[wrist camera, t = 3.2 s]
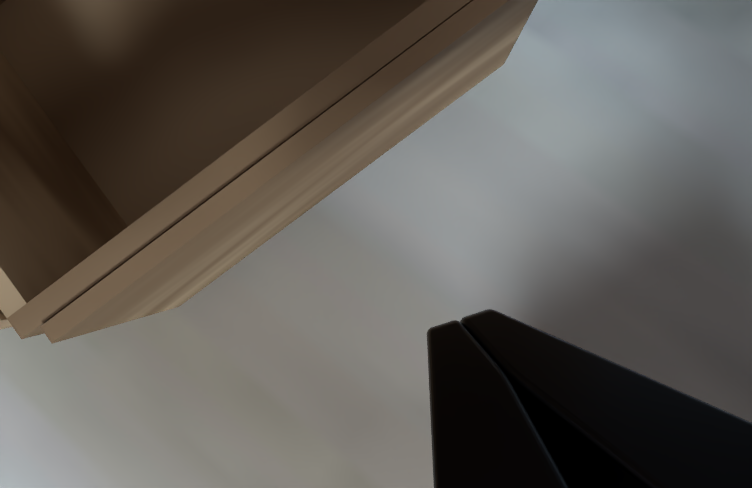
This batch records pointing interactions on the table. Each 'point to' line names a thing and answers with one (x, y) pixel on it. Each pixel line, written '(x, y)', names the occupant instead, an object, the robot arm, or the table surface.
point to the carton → (201, 133)
